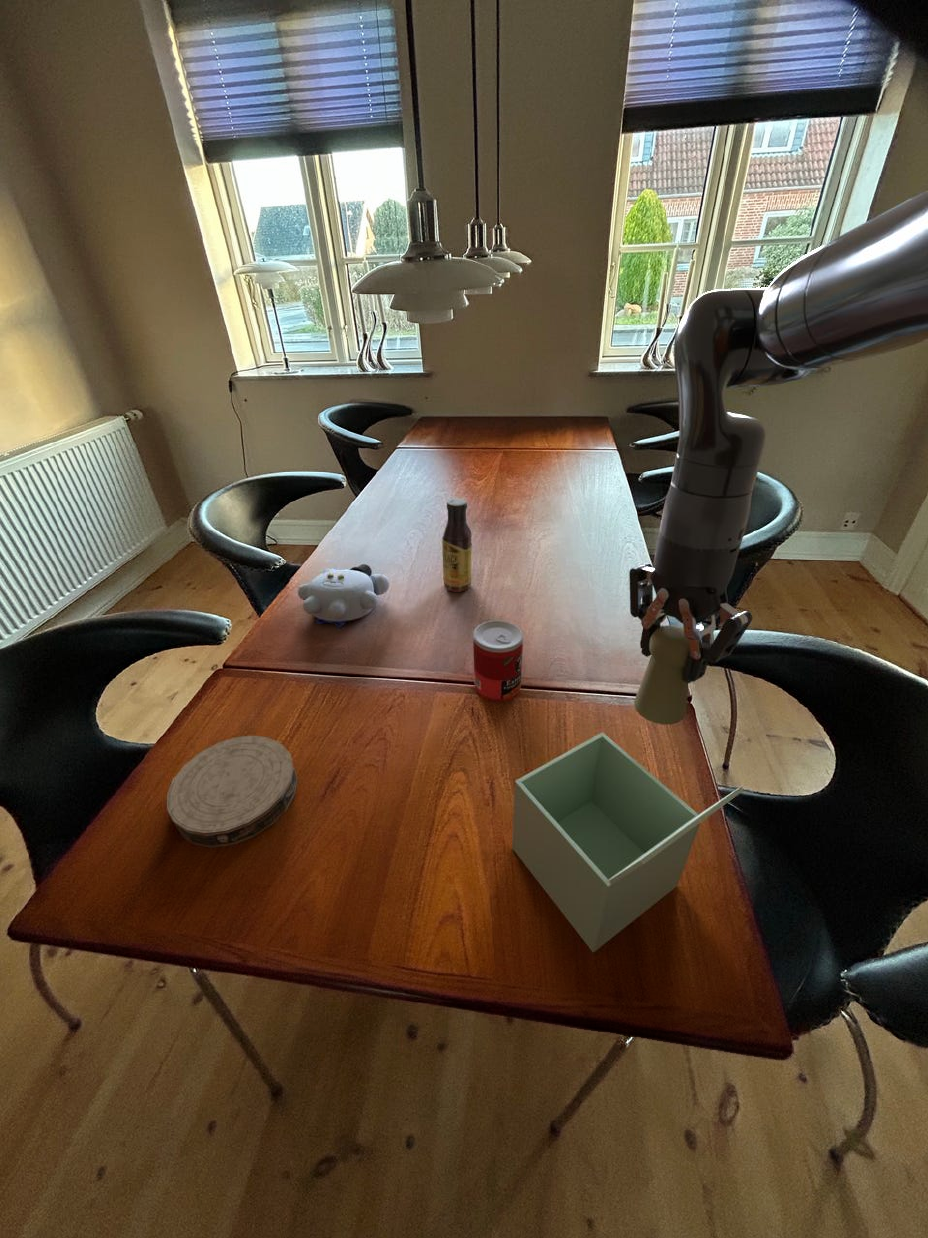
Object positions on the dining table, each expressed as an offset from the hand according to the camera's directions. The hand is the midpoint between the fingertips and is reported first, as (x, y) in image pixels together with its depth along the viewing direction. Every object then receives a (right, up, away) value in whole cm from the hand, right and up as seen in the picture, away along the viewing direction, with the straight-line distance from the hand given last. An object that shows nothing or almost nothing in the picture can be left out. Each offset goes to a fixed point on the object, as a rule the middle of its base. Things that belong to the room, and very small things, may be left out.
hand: (669, 665), depth 61 cm
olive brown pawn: (0, -6, +4) cm, 7 cm away
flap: (-5, -14, -13) cm, 20 cm away
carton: (-9, -24, +1) cm, 25 cm away
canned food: (-18, -6, +28) cm, 34 cm away
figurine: (-48, +8, +51) cm, 70 cm away
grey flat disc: (-55, -19, +11) cm, 59 cm away
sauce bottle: (-25, +12, +56) cm, 62 cm away
